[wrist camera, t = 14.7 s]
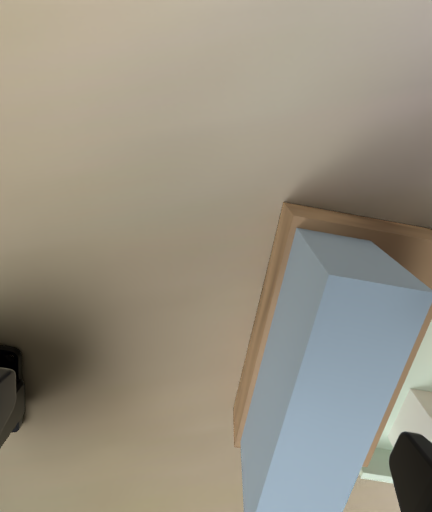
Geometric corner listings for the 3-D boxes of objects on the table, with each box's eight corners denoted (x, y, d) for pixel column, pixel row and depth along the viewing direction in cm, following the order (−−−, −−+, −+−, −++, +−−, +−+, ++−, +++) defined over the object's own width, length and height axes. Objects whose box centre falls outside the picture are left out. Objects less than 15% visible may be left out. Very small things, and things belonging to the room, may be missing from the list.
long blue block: (240, 441, 21) (245, 545, 16) (296, 227, 17) (328, 274, 11) (299, 450, 21) (323, 556, 16) (370, 241, 17) (436, 293, 12)
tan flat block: (233, 408, 24) (234, 447, 21) (283, 202, 19) (293, 215, 16) (350, 427, 24) (367, 467, 22) (429, 228, 20) (463, 246, 17)
